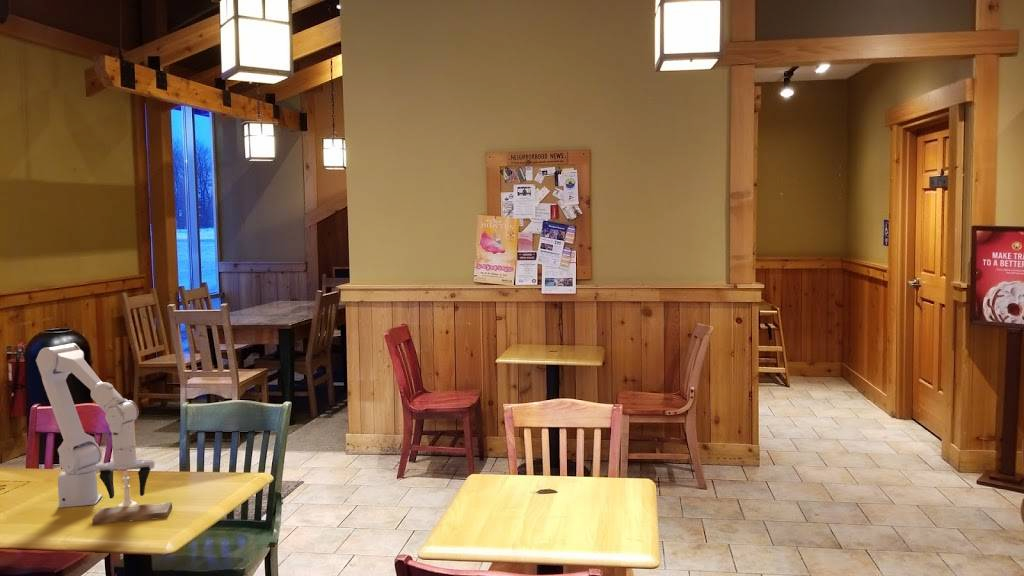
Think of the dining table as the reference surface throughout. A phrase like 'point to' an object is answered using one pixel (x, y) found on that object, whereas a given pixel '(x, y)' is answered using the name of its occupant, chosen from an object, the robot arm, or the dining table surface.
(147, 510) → the walnut board
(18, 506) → the dining table surface
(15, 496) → the dining table surface
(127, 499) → the chess piece
